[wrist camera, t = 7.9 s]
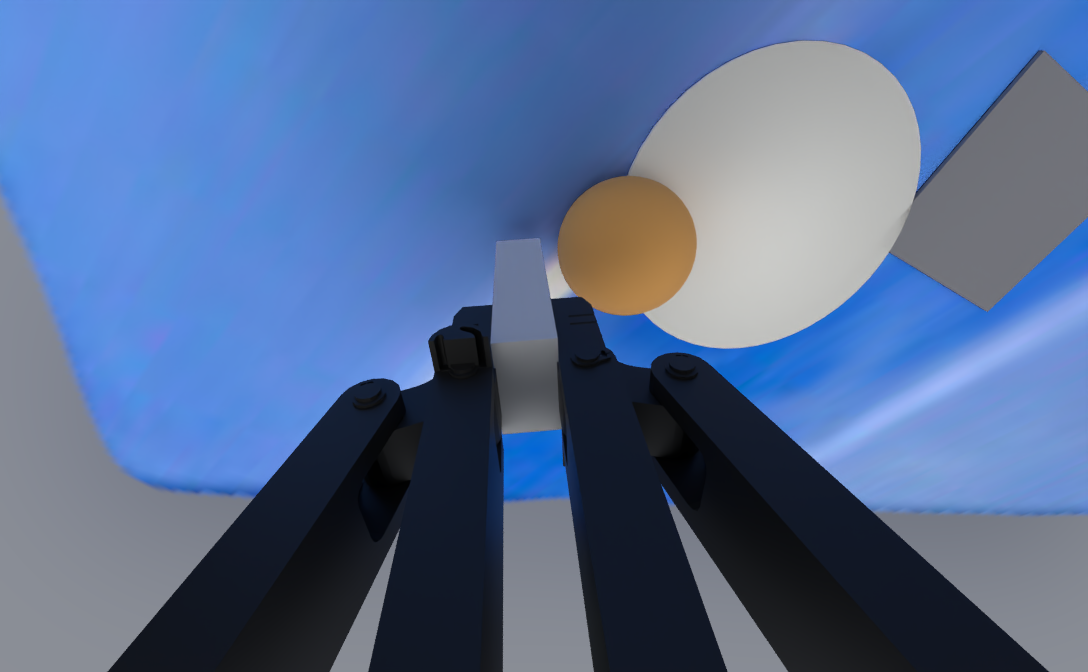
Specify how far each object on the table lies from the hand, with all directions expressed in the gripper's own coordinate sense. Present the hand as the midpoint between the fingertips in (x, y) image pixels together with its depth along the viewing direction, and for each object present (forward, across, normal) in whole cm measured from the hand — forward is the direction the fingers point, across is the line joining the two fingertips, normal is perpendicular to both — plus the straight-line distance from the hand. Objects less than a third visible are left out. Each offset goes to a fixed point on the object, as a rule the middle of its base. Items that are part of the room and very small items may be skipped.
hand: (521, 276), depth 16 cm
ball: (+2, +4, 0) cm, 5 cm away
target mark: (+5, +12, 0) cm, 13 cm away
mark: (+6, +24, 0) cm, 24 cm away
